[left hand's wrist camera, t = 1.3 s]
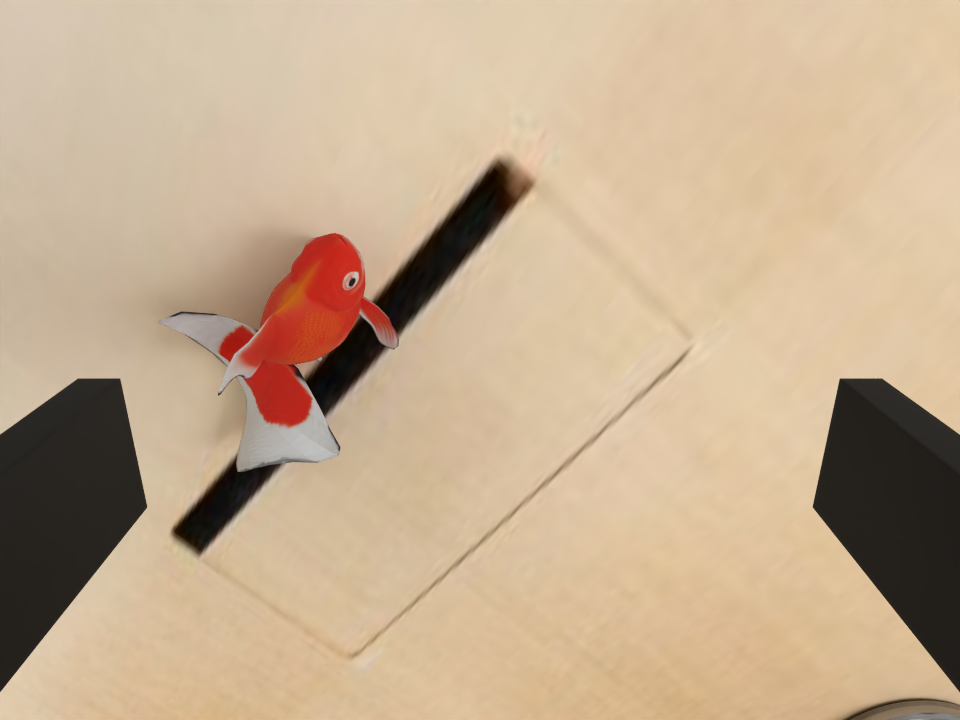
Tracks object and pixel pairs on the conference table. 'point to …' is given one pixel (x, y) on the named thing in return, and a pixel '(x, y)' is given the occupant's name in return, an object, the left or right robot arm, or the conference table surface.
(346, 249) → the fish
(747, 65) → the conference table surface
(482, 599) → the conference table surface
